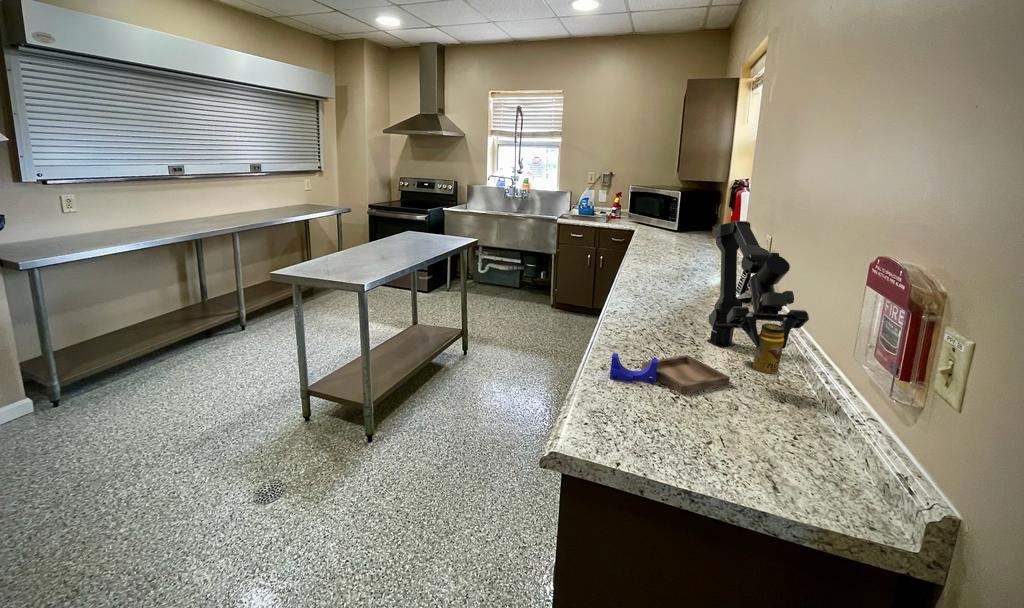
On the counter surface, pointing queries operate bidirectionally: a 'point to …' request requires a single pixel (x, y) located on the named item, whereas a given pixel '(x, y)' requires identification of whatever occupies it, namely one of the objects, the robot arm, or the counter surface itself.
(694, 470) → the counter surface
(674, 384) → the dock holder
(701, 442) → the counter surface
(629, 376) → the cable clip
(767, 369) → the condiment
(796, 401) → the counter surface
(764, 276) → the robot arm
